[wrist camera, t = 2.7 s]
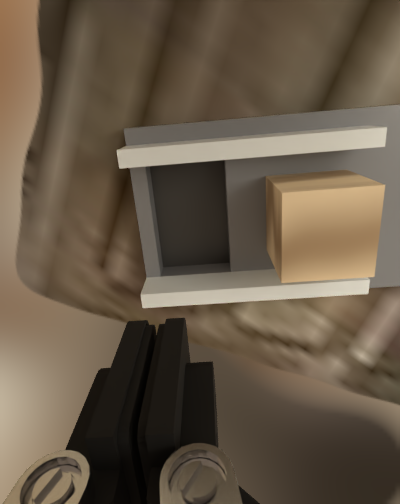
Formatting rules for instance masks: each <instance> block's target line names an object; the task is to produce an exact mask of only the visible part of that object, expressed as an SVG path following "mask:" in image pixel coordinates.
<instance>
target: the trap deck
mask: <svg viewBox="0 0 400 504" xmlns="http://www.w3.org/2000/svg"><path fill="white" fill-rule="evenodd" d="M124 135H125V142H126V146H125V147H123V148H120V149H118V150H116V151H117V157H118V163H119V169H121V168H130V174H131V180H132V187H133V193H134V200H135V206H136V213H137V219H138V225H139V232H140V238H141V245H142V251H143V257H144V264H145V270H146V277H147V278H146V281H145V283H144V286H143V289H142V292H141V301H142V307H143V308H154V307H169V306H185V305H201V304H217V303H232V302H248V301H264V300H280V299H296V298H311V297H327V296H343V295H359V294H368V292H369V288H377V287H393V286H400V104H393V105H382V106H370V107H359V108H348V109H336V110H325V111H314V112H302V113H291V114H279V115H268V116H257V117H245V118H234V119H222V120H211V121H200V122H188V123H177V124H165V125H154V126H143V127H131V128H125V129H124ZM334 170H349V171H351V172H354V173H356V174H359V175H361V176H364V177H367V178H369V179H372V180H374V181H377V182H379V183H382V184H384V185H385V192H384V200H383V209H382V217H381V225H380V234H379V242H378V251H377V259H376V268H375V276H374V277H366V278H351V279H336V280H320V281H305V282H290V283H281V281H280V279H279V276H278V274H277V272H276V270H275V267H274V265H273V263H272V261H271V258H270V256H269V254H268V252H267V245H266V176H272V175H284V174H297V173H309V172H322V171H334Z"/></svg>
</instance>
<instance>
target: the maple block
mask: <svg viewBox="0 0 400 504" xmlns="http://www.w3.org/2000/svg"><path fill="white" fill-rule="evenodd" d="M384 192H385V185H384V184H382V183H379V182H377V181H374V180H372V179H369V178H367V177H364V176H361V175H359V174H356V173H354V172H351V171H349V170H334V171H322V172H309V173H297V174H284V175H272V176H266V245H267V252H268V254H269V256H270V258H271V261H272V263H273V265H274V267H275V270H276V272H277V274H278V276H279V279H280V281H281V283H290V282H305V281H320V280H336V279H351V278H366V277H374V276H375V268H376V259H377V251H378V242H379V234H380V225H381V217H382V209H383V200H384Z"/></svg>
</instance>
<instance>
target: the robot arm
mask: <svg viewBox="0 0 400 504" xmlns="http://www.w3.org/2000/svg"><path fill="white" fill-rule="evenodd" d="M216 410H217V409H216V394H215V380H214V368H213V362H199V363H190V355H189V346H188V337H187V328H186V320H185V318H173V319H166V322H165V324H160V325H159V328H158V332H157V335H156V329H155V325H149V323H148V321H147V320H143V321H129V322H128V323H127V325H126V328H125V330H124V333H123V336H122V338H121V342H120V344H119V347H118V349H117V352H116V355H115V357H114V360H113V363H112V366H111V368H103V369H100V370H99V371H98V373H97V375H96V377H95V379H94V382H93V384H92V387H91V389H90V392H89V394H88V397H87V399H86V401H85V404H84V406H83V408H82V411H81V413H80V416H79V418H78V421H77V423H76V425H75V428H74V430H73V433H72V435H71V437H70V440H69V442H68V445H67V447H66V450H63V451H57V452H54V453H51V454H48V455H46V456H44V457H43V458H41V459H39V460H38V461H36V462H35V463H34V464H33V465H31V466H30V467H29V468H28V469H27V470H26V471H25V472H24V474H23V475H22V476H21V477H20V478H19V480H18V481H17V483H16V484H15V486H14V487H13V489H12V490H11V492H10V493H9V495H8V496H7V498H6V499H5V501H4V502H3V504H259V503H258V502H257V501H256V500H255V499H254V498H252V497H251V496H250V495H249V494H248V493H246V492H245V491H244V490H243V489H242V488H241V487H240V486H239V485H238V483H237V479H236V475H235V471H234V468H233V466H232V463H231V461H230V459H229V458H228V456H227V455H226V454H225V453H224V452H223V451H222V450H220V449H219V448H218V429H217V411H216Z"/></svg>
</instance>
